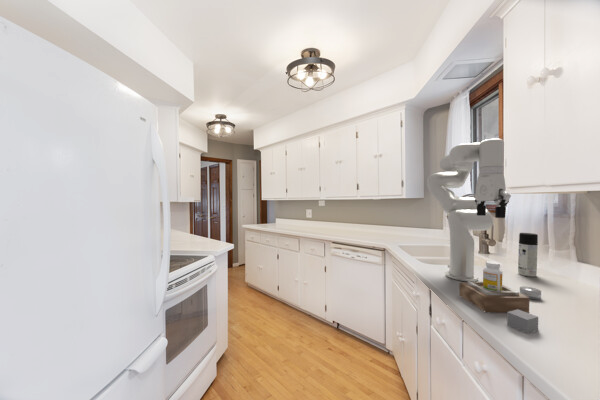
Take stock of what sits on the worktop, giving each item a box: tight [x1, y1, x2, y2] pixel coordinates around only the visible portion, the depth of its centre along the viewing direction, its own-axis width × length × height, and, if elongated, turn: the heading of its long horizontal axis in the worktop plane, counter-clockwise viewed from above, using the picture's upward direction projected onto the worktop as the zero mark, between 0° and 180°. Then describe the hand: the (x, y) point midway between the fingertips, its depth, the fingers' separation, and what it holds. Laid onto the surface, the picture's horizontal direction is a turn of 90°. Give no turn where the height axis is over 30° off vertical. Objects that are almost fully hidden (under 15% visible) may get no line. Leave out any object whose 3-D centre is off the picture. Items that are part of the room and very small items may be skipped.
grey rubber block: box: [506, 309, 539, 334], centre depth 73 cm, size 5×5×4 cm
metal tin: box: [519, 286, 542, 301], centre depth 95 cm, size 6×6×3 cm
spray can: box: [517, 232, 539, 278], centre depth 120 cm, size 7×7×20 cm
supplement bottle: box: [482, 260, 503, 291], centre depth 88 cm, size 5×5×10 cm
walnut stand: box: [458, 281, 530, 314], centre depth 89 cm, size 14×14×6 cm
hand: (490, 216), depth 96 cm, fingers open, 9 cm apart
